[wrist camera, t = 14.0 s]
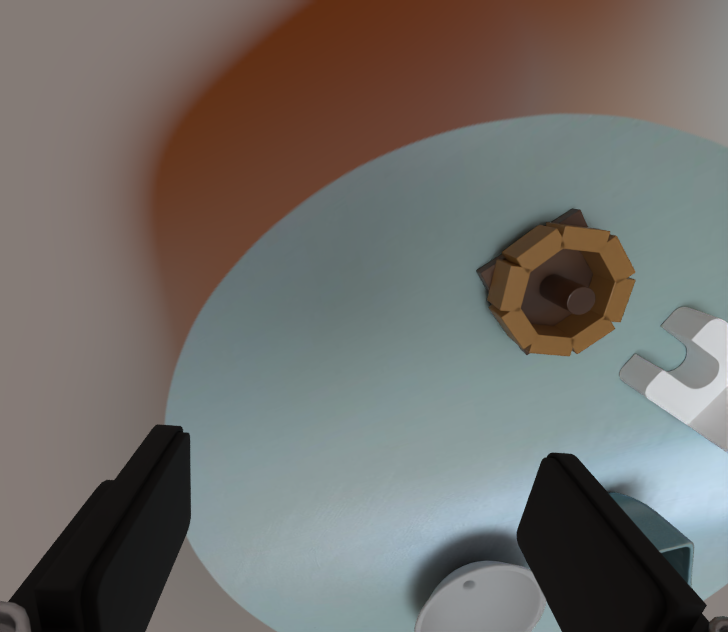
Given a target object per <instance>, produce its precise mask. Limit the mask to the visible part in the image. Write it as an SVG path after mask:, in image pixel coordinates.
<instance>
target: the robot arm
mask: <svg viewBox="0 0 728 632" xmlns="http://www.w3.org/2000/svg"><path fill="white" fill-rule="evenodd" d="M190 519H191V483H190V435H189V433H184V432H183V429H182V427H181V426H172V425H156V426H155V427H154V428H153V429H152V430H151V431H150V433H149V434H148V435H147V437H146V438H145V440H144V441H143V442H142V444H141V445H140V446H139V448H138V449H137V450H136V452H135V453H134V454H133V456H132V457H131V458H130V460H129V461H128V462H127V464H126V465H125V467H124V468H123V469H122V470H121V472H120V473H119V475H118V476H117V478H116V479H115V480H106V481H104V482H102V483H101V484H100V485H99V486H98V487H97V488H96V490H95V491H94V492H93V493H92V495H91V496H90V497H89V499H88V500H87V501H86V502H85V504H84V505H83V506H82V508H81V509H80V510H79V511H78V513H77V514H76V515H75V517H74V518H73V519H72V521H71V522H70V523H69V524H68V526H67V527H66V528H65V530H64V531H63V532H62V533H61V535H60V536H59V537H58V538H57V540H56V541H55V542H54V544H53V545H52V546H51V547H50V549H49V550H48V551H47V552H46V554H45V555H44V556H43V558H42V559H41V560H40V562H39V563H38V564H37V565H36V567H35V568H34V569H33V570H32V572H31V573H30V574H29V576H28V577H27V578H26V579H25V581H24V582H23V583H22V585H21V586H20V587H19V588H18V590H17V591H16V592H15V594H14V595H13V596H12V597H11V599H10V600H9V601H8V602H2V601H1V602H0V632H145V631H146V629H147V626H148V624H149V622H150V619H151V617H152V614H153V612H154V610H155V607H156V605H157V603H158V600H159V598H160V595H161V593H162V591H163V588H164V586H165V583H166V581H167V579H168V577H169V574H170V572H171V569H172V567H173V565H174V562H175V560H176V558H177V555H178V553H179V550H180V548H181V546H182V543H183V541H184V539H185V536H186V534H187V531H188V528H189V524H190ZM517 542H518V545H519V547H520V549H521V551H522V553H523V555H524V557H525V559H526V561H527V563H528V565H529V567H530V569H531V571H532V573H533V575H534V577H535V579H536V581H537V583H538V585H539V587H540V589H541V591H542V593H543V595H544V597H545V599H546V601H547V603H548V605H549V607H550V609H551V611H552V613H553V615H554V617H555V619H556V621H557V623H558V625H559V627H560V629H561V631H562V632H728V617H725V616H722V617H714V618H713V619H712V620H711V621H710V622H709V621H708V620H707V619H706V618H705V616H704V615H703V614H702V612H703V611H704V609H705V607H706V606H707V605H706V604H705V603H704V602H703V600H702V599H701V598H700V597H699V596H698V595H697V594H696V592H695V591H694V590H693V589H692V588H691V587H690V586H689V584H688V583H687V582H686V581H685V580H684V579H683V578H682V577H681V575H680V574H679V573H678V572H677V571H676V570H675V569H674V567H673V566H672V565H671V564H670V563H669V562H668V561H667V559H666V558H665V557H664V556H663V555H662V554H661V553H660V551H659V550H658V549H657V548H656V547H655V546H654V545H653V543H652V542H651V541H650V540H649V539H648V538H647V537H646V535H645V534H644V533H643V532H642V531H641V530H640V529H639V528H638V526H637V525H636V524H635V523H634V522H633V521H632V520H631V518H630V517H629V516H628V515H627V514H626V513H625V512H624V510H623V509H622V508H621V507H620V506H619V505H618V504H617V502H616V501H615V500H614V499H613V498H612V497H611V496H610V494H609V493H608V492H607V491H606V490H605V489H604V488H603V486H602V485H601V484H600V483H599V482H598V481H597V480H596V478H595V477H594V476H593V475H592V474H591V473H590V472H589V471H588V469H587V468H586V467H585V466H584V465H583V464H582V463H581V461H580V460H579V459H578V458H577V457H576V456H575V455H573V454H566V453H550V454H549V455H548V456H547V458H544V459H542V461H541V464H540V467H539V470H538V472H537V475H536V478H535V481H534V484H533V487H532V490H531V492H530V495H529V498H528V501H527V504H526V507H525V509H524V512H523V515H522V518H521V521H520V524H519V527H518V529H517Z"/></svg>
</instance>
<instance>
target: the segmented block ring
mask: <svg viewBox="0 0 728 632" xmlns="http://www.w3.org/2000/svg"><path fill="white" fill-rule="evenodd" d="M562 249H571V250H579V251H581V253H582V255H583V257H584V259H585V260H586V262H587V264H588V266H589V267H590V269H591V271H592V273H593V276H592V279H591V282H590V286H589V288H590V289H592V290H593V292H594V294H595V303H594V305H593V307H592V308H591V309H590V310H589V311H588V312H586V313H584V314H581V315H575V314H571V315H569V316H568V317H567V318H565V319H564V320H562V321H561V322H559V323H558V324H556V325H555V326H548V325H537V324H531V323H530V322H529V320H528V319H527V317H526V316H525V314H524V313H523V311H522V310H521V305H522V302H523V298H524V294H525V290H526V287H527V283H528V279H529V275H530V272H531V271H533V270H534V269H535V268H537V267H538V266H540V265H541V264H542V263H544V262H545V261H547V260H548V259H549V258H551V257H552V256H553V255H555V254H556V253H558V252H559V251H560V250H562ZM502 254H503V255H504V257H505V258H506V260H502V259H497V261H496V265H495V269H494V273H493V278H492V282H491V286H490V290H489V295H488V299H487V300H488V301H489V302H490V303H491V304H492V305H491V306H489V309H490V311H491V312H492V313H493V315H494V316H495V318H496V319H497V321H498V322H499V323H500V325H501V326H502V328H503V329H504V330H505V332H506V333H507V335H508V336H509V337H510V338H511V339H512V340H513V341H514V342H515V343H516V344H518V345H519V346H520V347H521V348H522V349H526V350H527V351H528V352H529V353H537V354H548V355H560V356H570V354H571V351H573V352H575V353H576V354H578V353H580V352H581V351H583V350H584V349H586V348H587V347H589V346H590V345H592V344H593V343H595V342H596V341H598V340H599V339H601V338H602V337H604V336H605V335H607V334H608V333H610V332H611V331H613V330H614V329H615V328H614V326H613V324H612V322H621V319H622V317H623V314H624V311H625V308H626V305H627V303H628V300H629V297H630V294H631V292H632V289H633V286H634V283H635V281H636V280H635V279H632V278H629V276H631V275H632V274H634V273H635V270H634V268H633V266H632V264H631V262H630V260H629V258H628V257H627V255H626V253H625V251H624V249H623V247H622V245H621V243H620V241H619V239H618V237H617V236H615V235H610V231H606V230H600V229H594V228H589V227H581V226H573V225H566V224H558V223H550V222H547V223H546V226H542V225H538V226H536V227H535V228H534V229H532V230H531V231H530V232H528V233H527V234H526V235H524V236H523V237H521V238H520V239H519V240H517V241H516V242H515V243H513V244H512V245H511V246H509V247H508V248H507V249H505V250H504V251H503V252H502ZM611 321H612V322H611Z"/></svg>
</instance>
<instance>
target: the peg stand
mask: <svg viewBox="0 0 728 632" xmlns="http://www.w3.org/2000/svg"><path fill="white" fill-rule="evenodd" d="M551 223H558V224H566V225H573V226H581V227H588V226H587V224H586V221H585V219H584V217H583V215H582V212H581V210H579V209H571V210H570V211H568V212H567V213H565V214H564V215H562V216H560V217H559V218H557V219H556V220H554V221H553V222H551ZM497 259H502V260H506V258H505V257H504V255H503V254H501V255H500V256H498V257H497V258H495V259H493V260H492V261H490V262H489V263H487V264H486V265H484V266H483V267H481V268H479V269H478V270H476V271H477V273H478V275H479V277H480V278H481V280H482V282H483V284H484V286H485V287H486V289H487V291H488V293H489V290H490V286H491V282H492V278H493V273H494V269H495V265H496V261H497ZM592 276H593V273H592V271H591V269H590V267H589V266H588V264H587V262H586V260H585V259H584V257H583V255H582V253H581V251H579V250H571V249H562V250H560V251H559V252H558V253H556V254H555V255H553V256H552V257H551V258H549V259H548V260H547V261H545V262H544V263H542V264H541V265H540V266H538V267H537V268H535V269H534V270H533V271H531V272H530V275H529V279H528V283H527V287H526V290H525V294H524V298H523V302H522V305H521V310H522V311H523V313H524V314H525V316H526V317H527V319H528V320H529V322H530V323H531V324H537V325H548V326H555V325H556V324H558V323H559V322H561V321H562V320H564V319H565V318H567V317H568V316H569V315H571V314H575V315H581V314H584V313H586V312H588V311H589V310H590V309H591V308H592V307H593V305H594V303H595V294H594V292H593V290H592V289H590V288H589V286H590V282H591V279H592ZM519 347H520V346H519ZM520 349H521V350H522V351H523V352H524V353H525V354H526V355H528V354H530V353H529V352H528V351H527V350H526V349H522V348H521V347H520Z"/></svg>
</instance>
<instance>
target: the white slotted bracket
mask: <svg viewBox="0 0 728 632" xmlns="http://www.w3.org/2000/svg"><path fill="white" fill-rule="evenodd" d="M661 327H662V328H664V329H665V330H666V331H668V332H669V333H670V334H672V335H673V336H674V337H676V338H677V339H678V340H679V341H681V342H682V343H683V344H684V345H685V346H686V348H687V355H686V358H685V360H684V362H683V363H682V364H681V365H680V366H679V367H678V368H676V369H674V370H672V371H669V372H666V371H664V370H663V369H661V368H659V367H657V366H656V365H654V364H652V363H650V362H649V361H647V360H645V359H644V358H642V357H640V356H638V355H637V354H634V355H633V357H632V358H631V359H630V360H629V361H628V362H627V363H626V364H625V365H624V366H623V367H622V369H621V371H620V374H619V375H620V379H621V380H622V381H623V382H625V383H626V384H628V385H629V386H631V387H632V388H634V389H635V390H636V391H638V392H639V393H641V394H642V395H644V396H645V397H646V398H648V399H649V400H651V401H652V402H654V403H655V404H657V405H658V406H660V407H661V408H663V409H664V410H666V411H667V412H669V413H670V414H672V415H673V416H675V417H676V418H677V419H679V420H680V421H682V422H683V423H685V424H686V425H688V426H689V427H691V428H692V429H694V430H695V431H696V432H698V433H699V434H701V435H702V436H704V437H705V438H707V439H708V440H709V441H711V442H712V443H714V444H715V445H717V446H718V447H720V448H721V449H723V450H724V451H726V452H727V453H728V323H727V322H725V321H724V320H722V319H720V318H717V317H714V316H711V315H709V314H706V313H703V312H700V311H697V310H694V309H692V308H689V307H680V308H678V309H676V310H675V311H674V312H673V313H672V314H671V315H670V316H669V318H668V319H667V320H666V321H665V322H664V323H663V324H662V325H661Z"/></svg>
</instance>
